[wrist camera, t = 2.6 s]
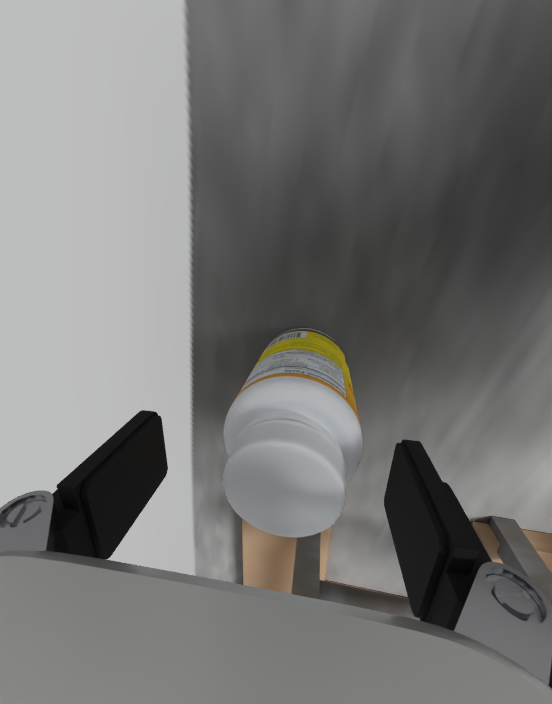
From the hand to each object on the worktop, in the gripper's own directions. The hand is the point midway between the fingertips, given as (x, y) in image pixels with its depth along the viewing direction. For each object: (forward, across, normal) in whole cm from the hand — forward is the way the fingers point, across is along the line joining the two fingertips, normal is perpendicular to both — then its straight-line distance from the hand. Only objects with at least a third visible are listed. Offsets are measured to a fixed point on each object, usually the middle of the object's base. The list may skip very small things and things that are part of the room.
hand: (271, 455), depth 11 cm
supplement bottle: (+8, -1, -1) cm, 8 cm away
